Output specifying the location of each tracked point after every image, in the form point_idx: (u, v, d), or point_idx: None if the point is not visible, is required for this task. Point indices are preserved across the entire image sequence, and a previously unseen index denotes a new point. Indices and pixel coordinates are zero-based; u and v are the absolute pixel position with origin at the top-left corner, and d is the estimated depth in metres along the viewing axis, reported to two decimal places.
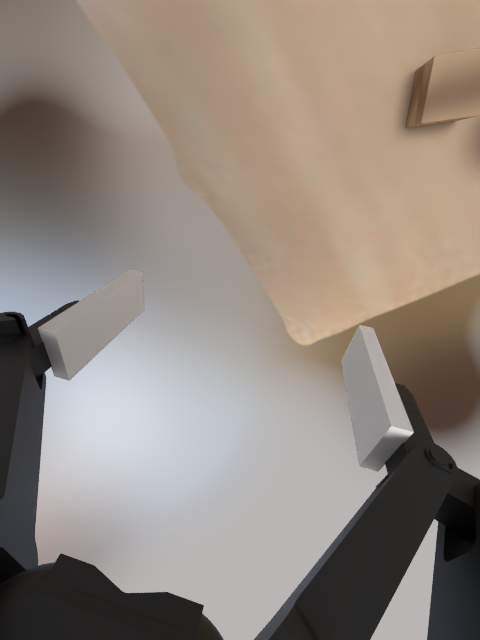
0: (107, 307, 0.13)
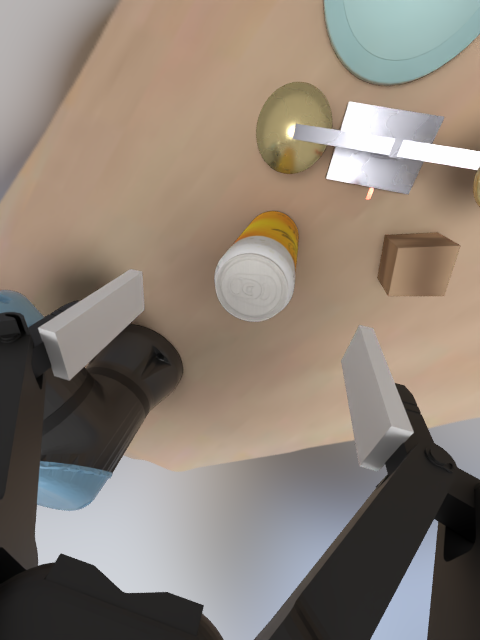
0: (107, 307, 0.13)
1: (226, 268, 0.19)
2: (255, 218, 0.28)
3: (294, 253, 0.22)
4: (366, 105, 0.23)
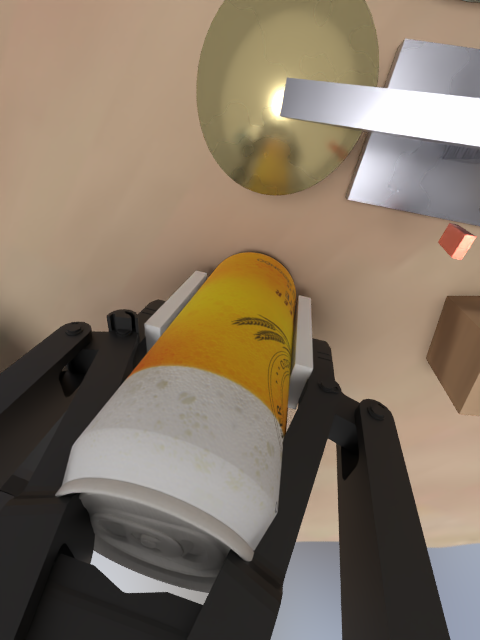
0: None
1: None
2: (220, 265, 0.16)
3: (284, 377, 0.10)
4: (443, 47, 0.10)
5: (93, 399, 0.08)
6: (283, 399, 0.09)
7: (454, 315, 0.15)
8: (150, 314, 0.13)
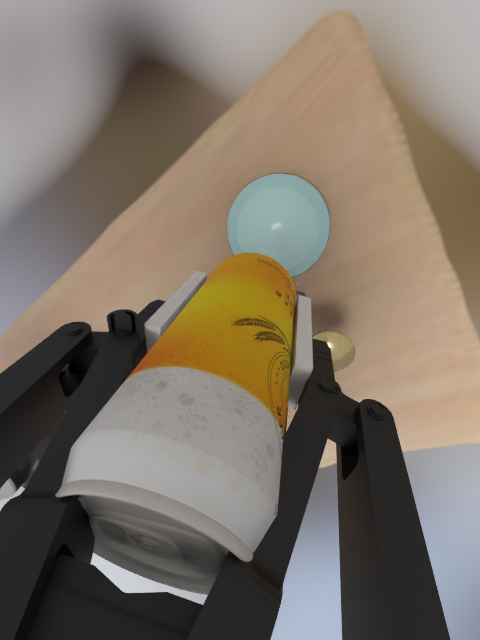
0: None
1: None
2: (219, 266, 0.16)
3: (284, 378, 0.10)
4: None
5: (93, 399, 0.08)
6: (283, 400, 0.09)
7: None
8: (150, 314, 0.13)
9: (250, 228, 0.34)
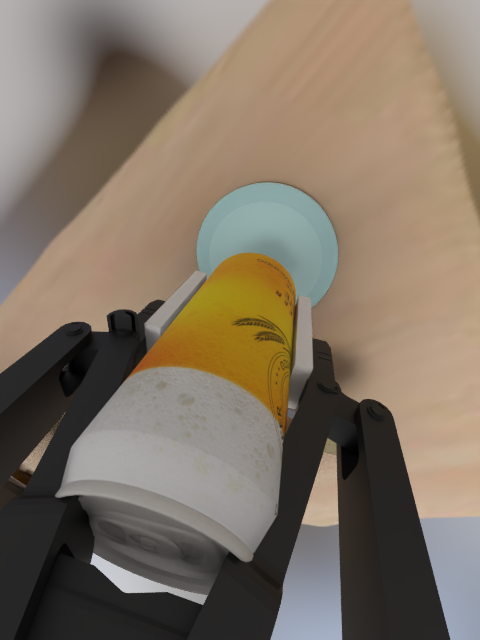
0: None
1: None
2: (219, 266, 0.16)
3: (284, 378, 0.10)
4: None
5: (93, 399, 0.08)
6: (283, 400, 0.09)
7: None
8: (150, 314, 0.13)
9: (228, 256, 0.24)
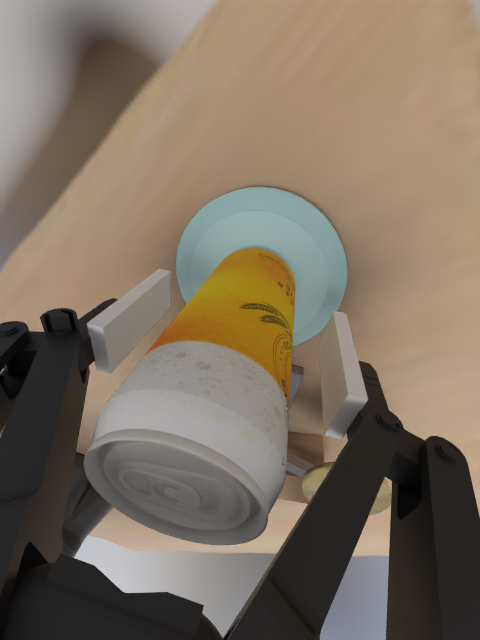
0: (142, 304, 0.14)
1: (108, 443, 0.07)
2: (224, 260, 0.17)
3: (287, 357, 0.11)
4: None
5: (38, 402, 0.08)
6: (287, 375, 0.10)
7: None
8: None
9: None
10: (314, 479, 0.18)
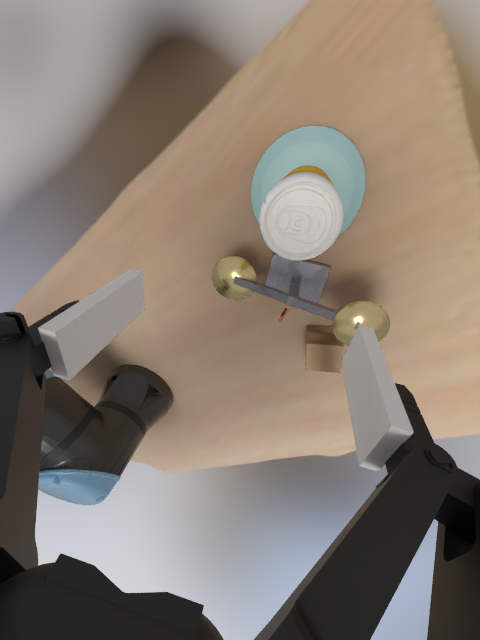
0: (107, 307, 0.13)
1: (275, 201, 0.18)
2: None
3: None
4: None
5: None
6: None
7: None
8: None
9: None
10: (341, 315, 0.29)
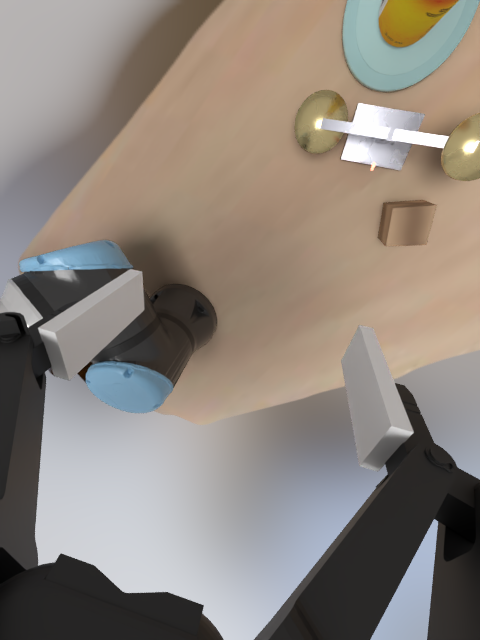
0: (107, 307, 0.13)
1: None
2: None
3: None
4: (370, 105, 0.32)
5: None
6: None
7: (385, 208, 0.37)
8: None
9: (376, 8, 0.28)
10: (458, 134, 0.26)
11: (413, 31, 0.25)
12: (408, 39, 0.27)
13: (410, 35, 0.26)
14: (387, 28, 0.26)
